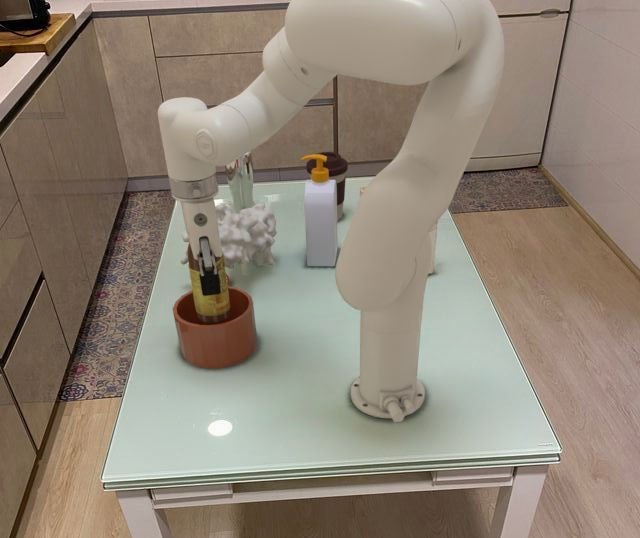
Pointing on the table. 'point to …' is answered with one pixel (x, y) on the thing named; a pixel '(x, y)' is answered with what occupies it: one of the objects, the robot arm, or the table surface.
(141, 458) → the table surface
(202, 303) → the sauce bottle
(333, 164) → the coffee cup
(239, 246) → the lumpy white molecule
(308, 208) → the soap bottle
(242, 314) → the crock
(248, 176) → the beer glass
